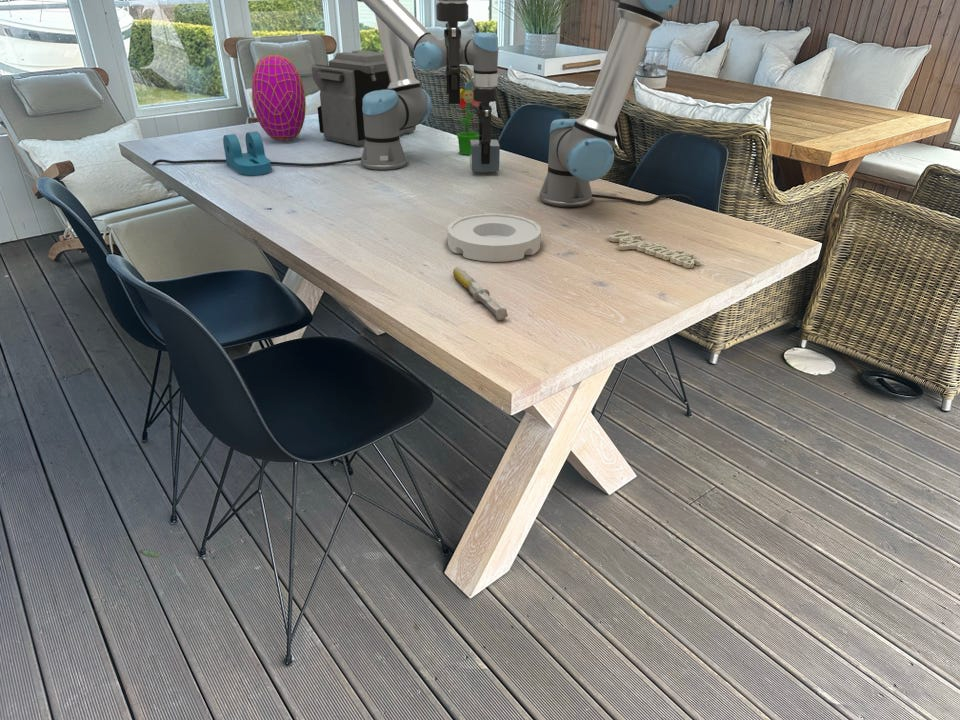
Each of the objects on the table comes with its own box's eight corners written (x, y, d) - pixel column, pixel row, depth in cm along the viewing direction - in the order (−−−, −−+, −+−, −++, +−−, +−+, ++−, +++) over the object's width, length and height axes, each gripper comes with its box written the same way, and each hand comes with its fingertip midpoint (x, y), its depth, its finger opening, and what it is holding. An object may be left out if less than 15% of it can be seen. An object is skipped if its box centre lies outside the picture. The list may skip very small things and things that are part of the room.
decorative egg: (293, 132, 276) (283, 50, 261) (319, 140, 264) (310, 56, 249) (249, 139, 265) (236, 54, 250) (273, 148, 253) (261, 60, 238)
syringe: (449, 274, 155) (449, 263, 153) (465, 272, 156) (464, 260, 154) (490, 323, 135) (491, 310, 133) (508, 319, 136) (508, 307, 134)
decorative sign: (595, 237, 174) (620, 228, 179) (594, 240, 174) (619, 231, 180) (683, 268, 157) (708, 257, 162) (683, 272, 157) (707, 261, 163)
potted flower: (461, 156, 246) (461, 82, 233) (452, 151, 252) (451, 78, 239) (485, 153, 249) (486, 80, 237) (475, 148, 255) (475, 77, 243)
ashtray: (450, 227, 182) (450, 212, 180) (538, 229, 181) (539, 214, 179) (444, 260, 162) (444, 244, 160) (542, 262, 161) (543, 246, 159)
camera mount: (227, 164, 233) (221, 132, 227) (257, 160, 238) (252, 129, 233) (244, 176, 220) (239, 143, 215) (276, 172, 225) (271, 139, 220)
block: (496, 164, 232) (497, 139, 228) (499, 171, 224) (499, 145, 220) (469, 164, 231) (470, 139, 227) (471, 171, 224) (471, 146, 220)
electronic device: (380, 124, 291) (375, 47, 275) (420, 131, 280) (417, 51, 264) (314, 140, 265) (305, 55, 250) (356, 148, 254) (349, 60, 239)
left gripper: (471, 81, 224) (470, 151, 236) (475, 93, 206) (475, 168, 217) (494, 81, 225) (492, 151, 236) (500, 93, 206) (498, 168, 218)
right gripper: (435, -1, 170) (436, 90, 181) (437, 5, 148) (439, 108, 159) (465, -1, 170) (465, 89, 181) (471, 5, 149) (471, 108, 160)
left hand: (484, 159), depth 227 cm, fingers closed on block, 9 cm apart
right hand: (453, 98), depth 170 cm, fingers open, 13 cm apart
